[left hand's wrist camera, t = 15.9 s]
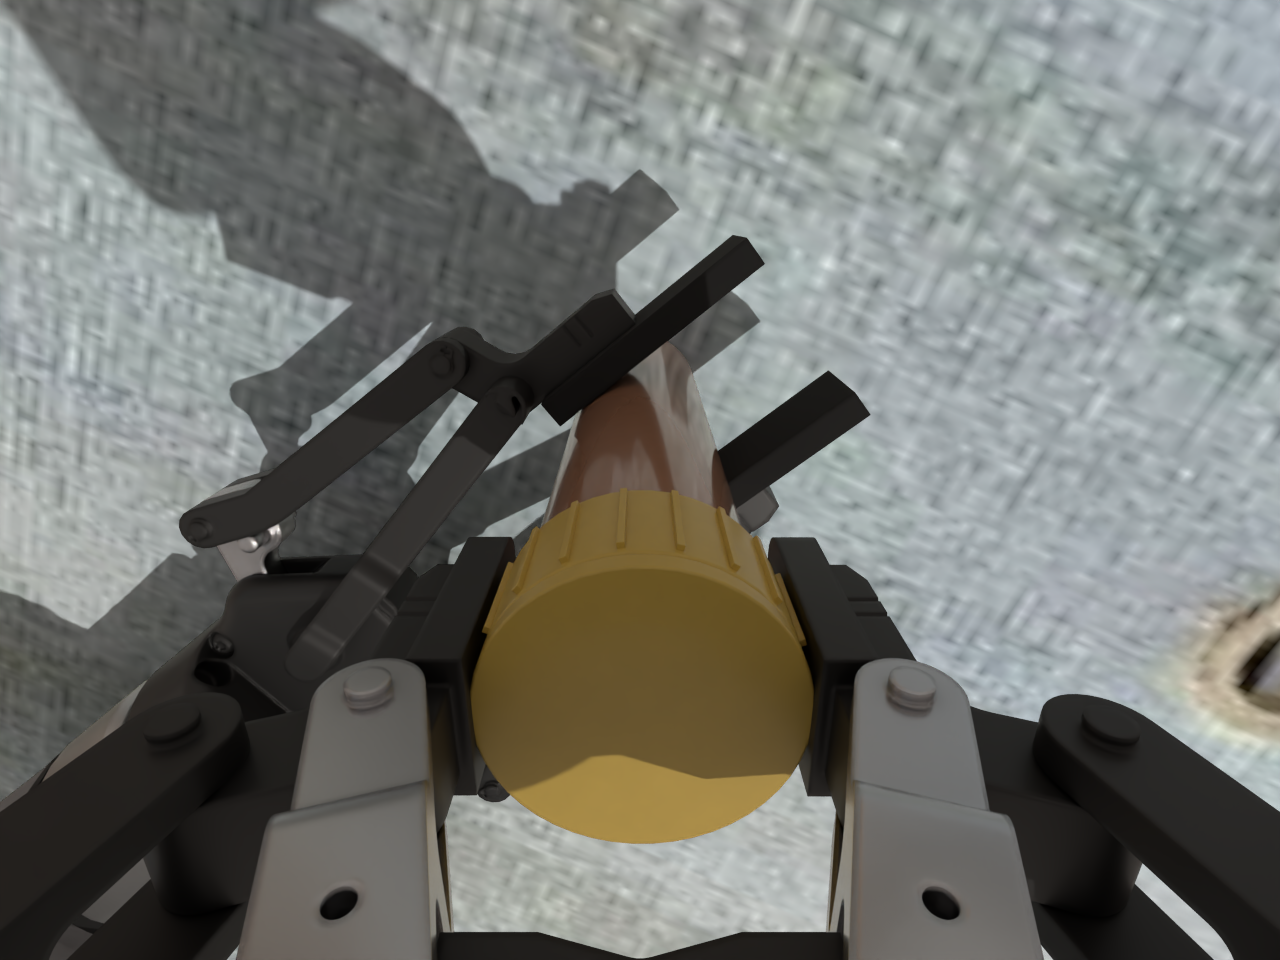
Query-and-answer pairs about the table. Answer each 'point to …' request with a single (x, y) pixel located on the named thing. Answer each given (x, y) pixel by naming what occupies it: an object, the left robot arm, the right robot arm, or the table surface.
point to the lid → (642, 671)
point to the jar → (643, 440)
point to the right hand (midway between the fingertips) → (798, 323)
